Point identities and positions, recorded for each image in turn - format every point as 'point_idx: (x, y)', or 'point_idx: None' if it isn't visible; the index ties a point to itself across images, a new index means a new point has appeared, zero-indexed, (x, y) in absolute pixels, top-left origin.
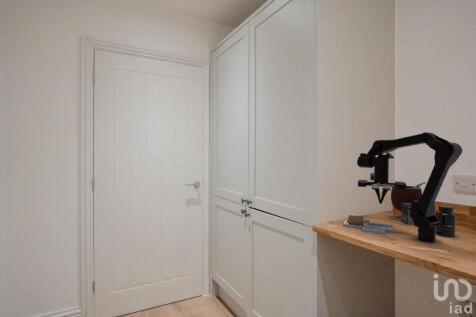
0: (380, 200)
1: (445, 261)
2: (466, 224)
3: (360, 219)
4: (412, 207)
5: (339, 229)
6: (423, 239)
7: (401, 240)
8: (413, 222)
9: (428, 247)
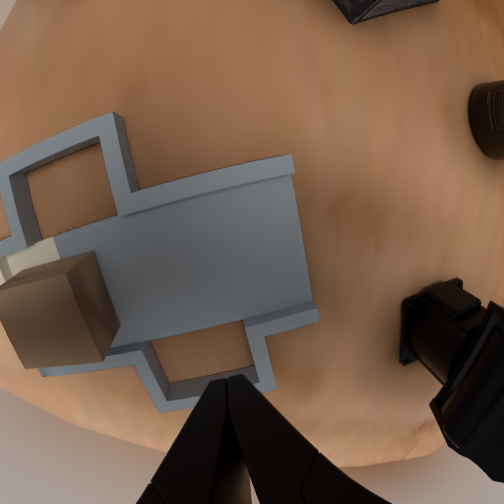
0: (244, 463)
1: (420, 441)
2: None
3: (91, 357)
4: (478, 462)
5: (50, 380)
6: (424, 365)
7: (343, 371)
8: (392, 5)
9: (419, 377)
